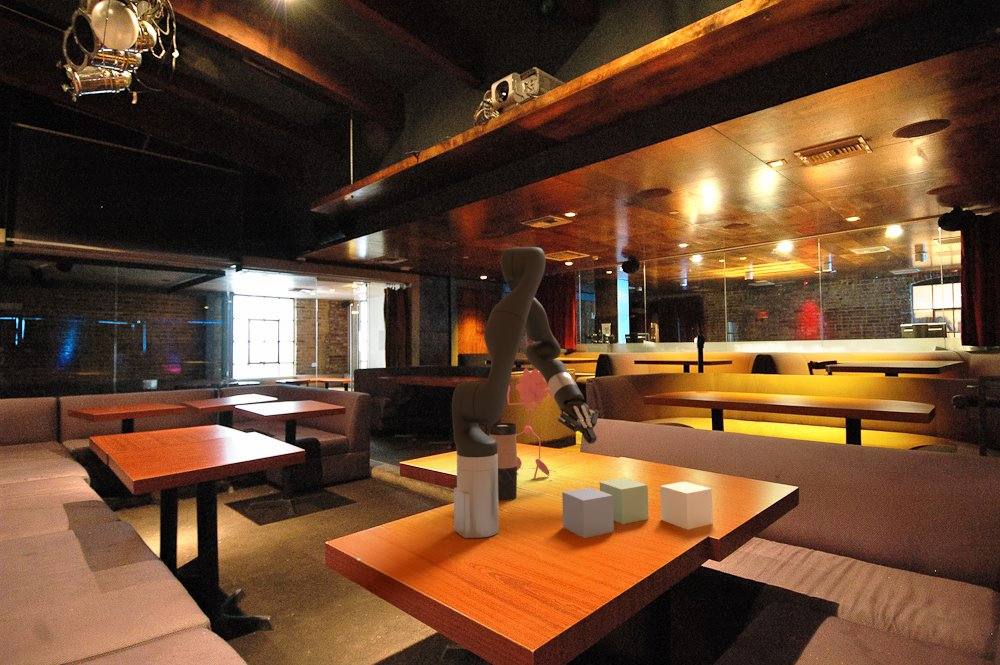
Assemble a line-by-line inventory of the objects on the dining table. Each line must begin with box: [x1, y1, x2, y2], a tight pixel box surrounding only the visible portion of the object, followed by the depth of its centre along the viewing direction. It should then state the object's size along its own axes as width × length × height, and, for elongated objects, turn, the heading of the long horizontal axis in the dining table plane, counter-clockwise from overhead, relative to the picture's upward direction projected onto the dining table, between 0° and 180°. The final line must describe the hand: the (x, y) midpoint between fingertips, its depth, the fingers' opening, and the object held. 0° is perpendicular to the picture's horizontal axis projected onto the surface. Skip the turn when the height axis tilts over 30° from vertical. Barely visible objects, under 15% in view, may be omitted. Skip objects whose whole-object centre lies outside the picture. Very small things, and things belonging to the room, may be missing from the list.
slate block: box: [561, 486, 615, 539], centre depth 115 cm, size 8×8×8 cm
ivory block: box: [659, 481, 714, 531], centre depth 119 cm, size 8×8×8 cm
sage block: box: [599, 477, 649, 525], centre depth 124 cm, size 8×8×8 cm
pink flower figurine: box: [506, 367, 557, 482], centre depth 171 cm, size 15×26×35 cm, turn 52°
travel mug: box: [488, 422, 518, 502], centre depth 143 cm, size 8×8×20 cm
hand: (593, 441), depth 135 cm, fingers closed
